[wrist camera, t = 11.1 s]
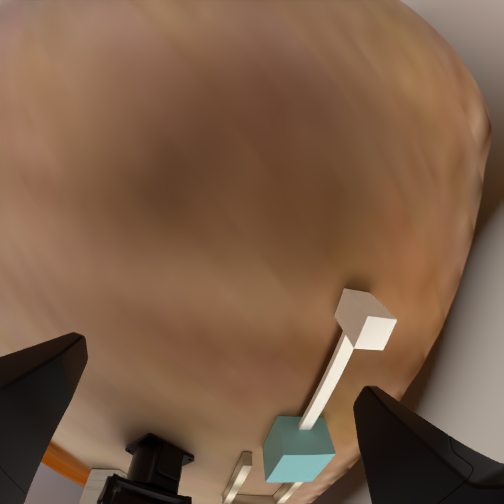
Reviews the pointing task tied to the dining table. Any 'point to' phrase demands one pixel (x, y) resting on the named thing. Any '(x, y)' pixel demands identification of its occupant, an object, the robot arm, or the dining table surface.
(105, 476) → the supplement box
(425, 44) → the dining table surface
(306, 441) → the teal and white dumbbell
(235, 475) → the beige u-shaped frame
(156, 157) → the dining table surface
